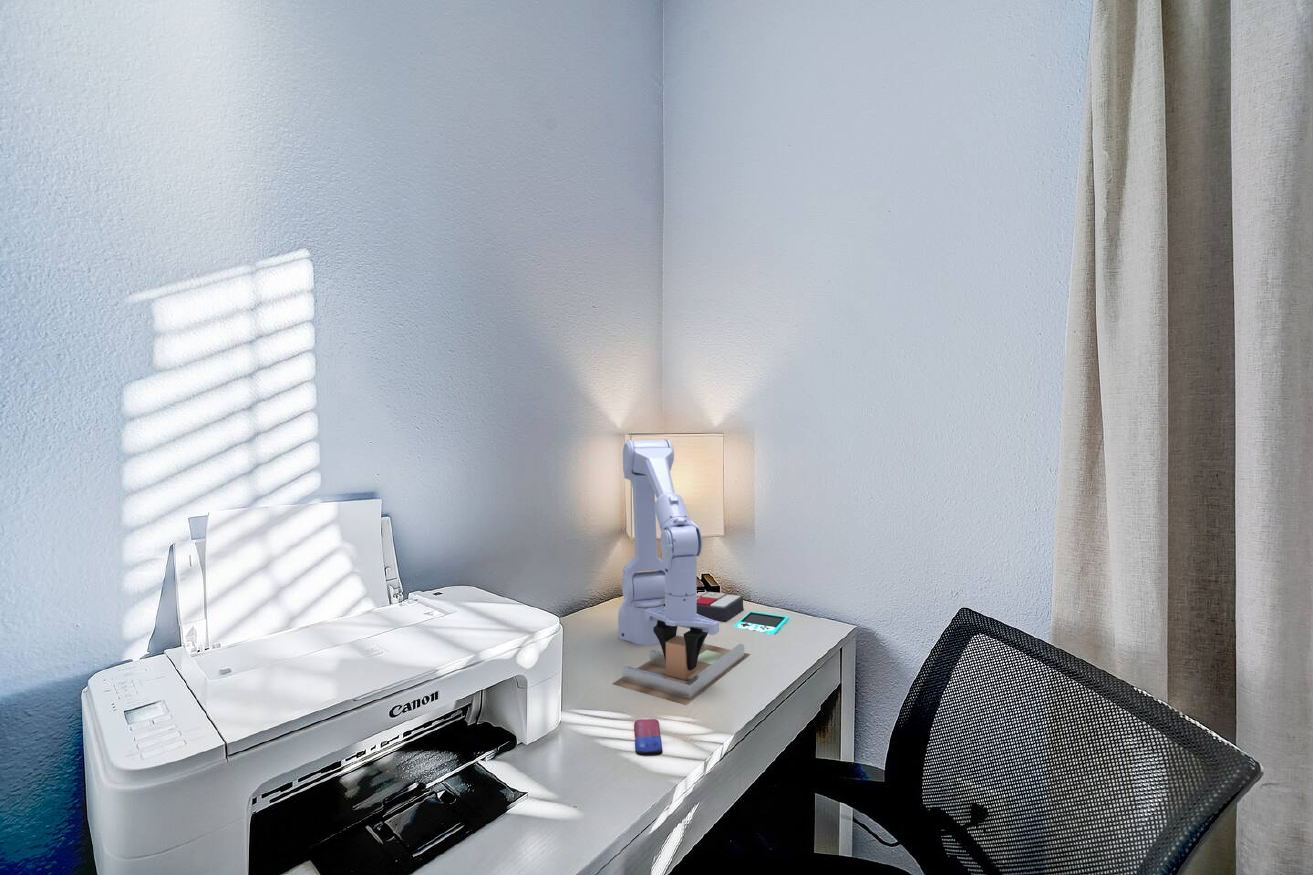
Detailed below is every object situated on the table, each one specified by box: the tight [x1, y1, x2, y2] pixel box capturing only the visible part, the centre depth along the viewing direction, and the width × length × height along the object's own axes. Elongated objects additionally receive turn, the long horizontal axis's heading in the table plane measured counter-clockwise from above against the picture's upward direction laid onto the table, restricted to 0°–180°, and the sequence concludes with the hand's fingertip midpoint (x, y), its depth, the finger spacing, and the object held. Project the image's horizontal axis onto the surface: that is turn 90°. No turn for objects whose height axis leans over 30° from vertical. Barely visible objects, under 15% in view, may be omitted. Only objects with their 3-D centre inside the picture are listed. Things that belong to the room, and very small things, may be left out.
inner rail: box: [649, 641, 705, 668], centre depth 128 cm, size 5×13×2 cm, turn 147°
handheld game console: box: [732, 611, 790, 636], centre depth 148 cm, size 10×16×1 cm, turn 153°
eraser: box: [633, 718, 664, 756], centre depth 97 cm, size 11×4×2 cm, turn 3°
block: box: [666, 634, 696, 679], centre depth 116 cm, size 4×4×6 cm
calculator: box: [697, 591, 744, 623], centre depth 159 cm, size 11×4×15 cm
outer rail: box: [622, 643, 745, 700], centre depth 121 cm, size 14×22×2 cm, turn 147°
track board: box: [611, 643, 752, 706], centre depth 122 cm, size 16×26×1 cm, turn 147°
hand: (680, 665), depth 116 cm, fingers closed on block, 4 cm apart
